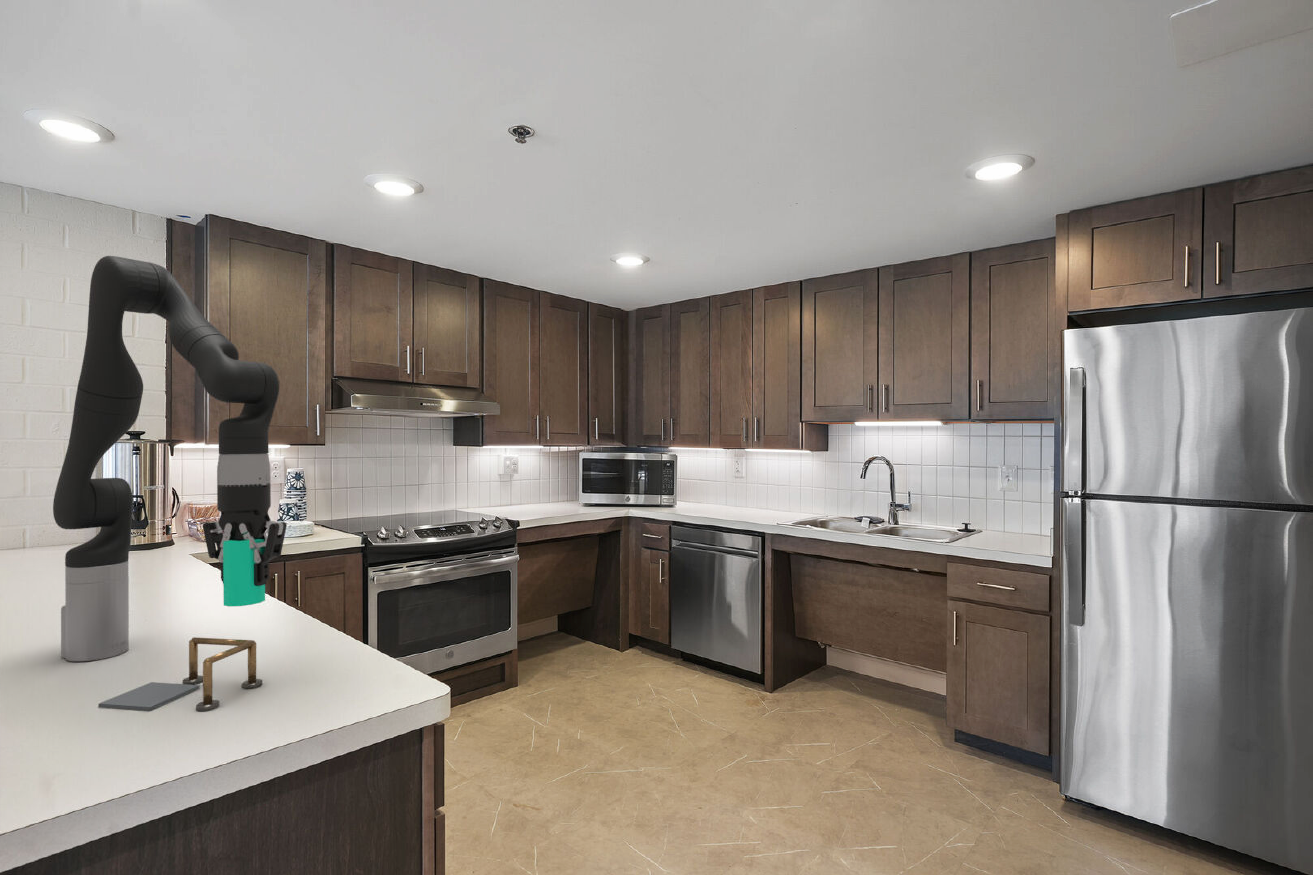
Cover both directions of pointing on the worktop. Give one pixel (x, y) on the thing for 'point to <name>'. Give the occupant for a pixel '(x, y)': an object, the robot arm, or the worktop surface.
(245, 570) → the candle
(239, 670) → the worktop surface
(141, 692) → the coaster
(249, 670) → the handrail
